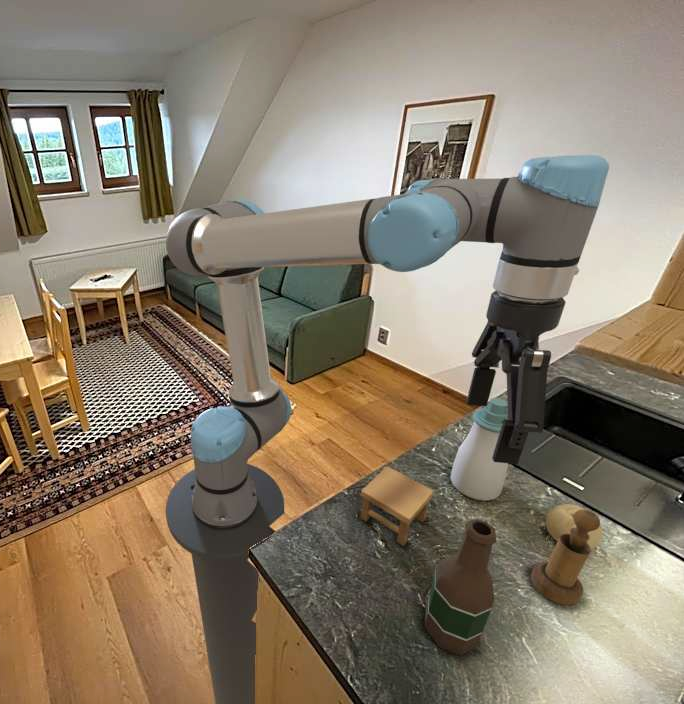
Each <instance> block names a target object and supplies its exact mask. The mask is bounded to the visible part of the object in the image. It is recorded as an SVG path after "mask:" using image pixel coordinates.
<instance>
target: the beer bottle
mask: <svg viewBox="0 0 684 704" xmlns="http://www.w3.org/2000/svg"><path fill="white" fill-rule="evenodd" d="M464 530H465V531H464V534H463V537H462V538H461V542H460V544H459V546H458V549H457V551H455V554H453V555H451V556H448V557H445V558H443V559H442V560H441V561H439V562H438V563H437V566H436V568H435V571H434V575H433V579H432V582H431V586H430V589H429V593H428V598H427V601H426V604H425V605H426V606H425V612H424V614H425V615H424V629H425V630H426V632H427V633H428V635H429V636H430V637H431V639H432V640H433V641H434V643H435V644H436V645H437V646H438V648H441V649H443V650H444V651H445V650H446V651H448V652H450V653H453V654H455V655H457V656H462V655H464V654H467V653H468V652H470V651H472V650H475V649H476V648H477V646H478V644H479V642H480V639H481V637H482V634H483V632H484V629H485V626H486V625H487V621H488V619H489V617H490V614H491V611H492V609H493V606H494V600H495V593H494V583H493V577H492V574H491V572H490V571H489V570H488V566H489V561H490V557H491V552H492V549H493V544H495V543H497V534H496V528H495V527H493V526H492V525H491V523H489V522H488V521H485V520H482V519H479V518H473V519H471V520H468V521H467V522H466V523H465V524H464Z"/></svg>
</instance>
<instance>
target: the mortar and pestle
mask: <svg viewBox="0 0 684 704" xmlns="http://www.w3.org/2000/svg"><path fill="white" fill-rule="evenodd" d="M584 509H585V508H584ZM584 509H583V510H578V511H576V512H575V514H574V516H573V519H574V522H575V525H576V528H572V529H571V530H570V534H562V535H561V536H560V537H559V540H558V541H556V544H555V547H554V549H553V551H552V553H551V556H550V558H549V560H548V561H540V562H537V563H536V564H535V565H534V567H533V568H532V571H531V573H530V582H531V584H532V585H533V587H534V588H535V590H536V591H537V592H538V593H539V594H540V595H541V596H543V597H545V599H547V600H549V601H551V602H553V603H556V604H559V605H561V606H566V607H568V606H569V607H570V606H571V607H572V606H575V605H577V604H578V603H579V602H580V601H581V598H582V596H583V592H584V587H583V584H582V583H581V580H580V579H579V578H578V577H579V575H580V573H581V571H582V569H583V567H584V566H585V563H586V561H587V560H588V558H589V557H590V554H591V552H592V549H591V548H590V546H589V545H588V543H587V541H588V540H589V538H590V537H589V535H588V532H590V531H594V530H596V529H598V528H599V526H600V525H601V520H600V518H599V516H598V515H597V514H596V513H595V512H593V511H591V510H589V509H586V510H584Z"/></svg>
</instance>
